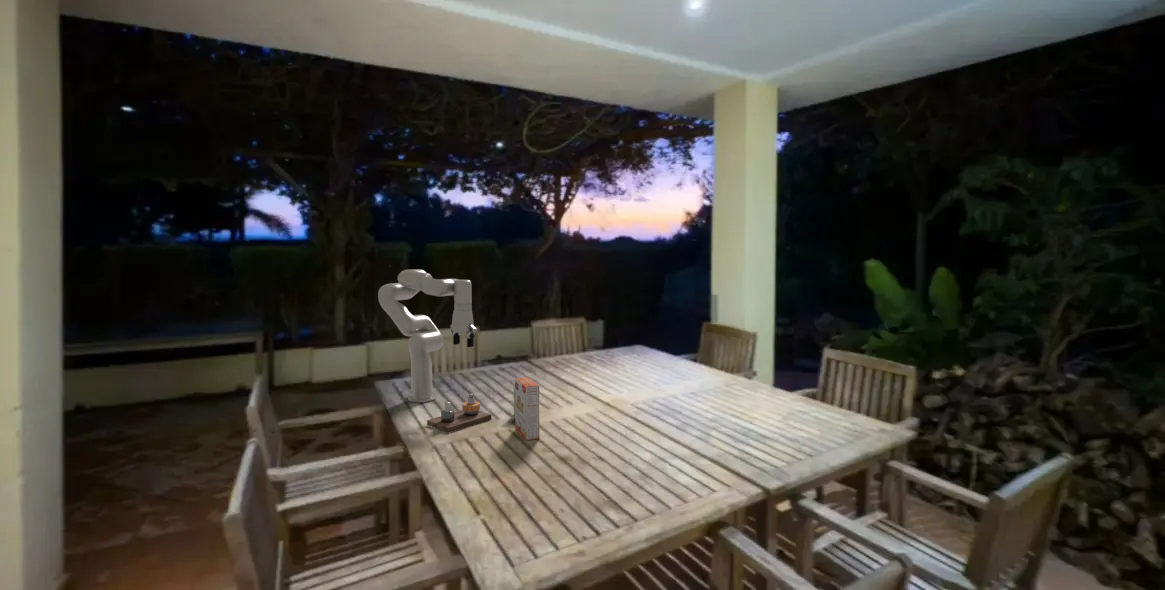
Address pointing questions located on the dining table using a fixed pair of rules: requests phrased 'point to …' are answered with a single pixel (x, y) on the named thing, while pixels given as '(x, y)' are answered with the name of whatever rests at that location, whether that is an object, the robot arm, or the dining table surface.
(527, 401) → the cracker box
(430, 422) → the base board
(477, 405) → the ring
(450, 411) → the gray oval domed knob
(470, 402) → the hub
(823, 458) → the dining table surface
